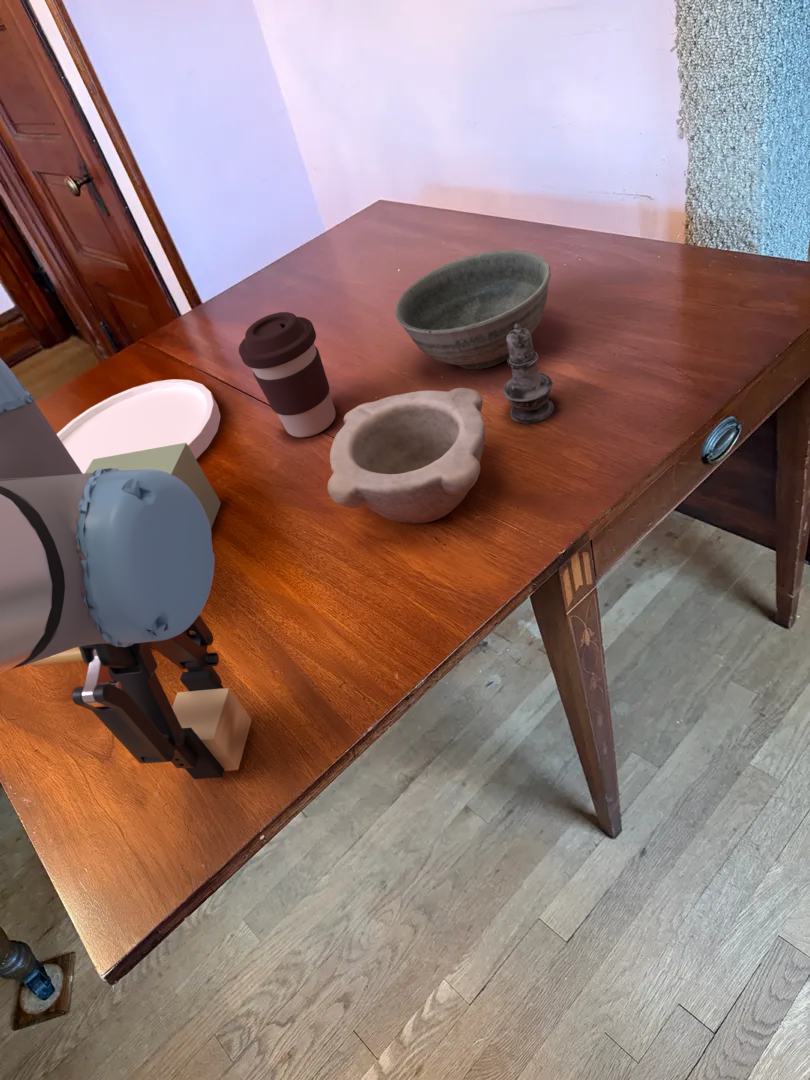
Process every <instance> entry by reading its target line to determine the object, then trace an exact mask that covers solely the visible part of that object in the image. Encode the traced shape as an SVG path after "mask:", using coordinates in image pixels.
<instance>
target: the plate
mask: <svg viewBox="0 0 810 1080" xmlns="http://www.w3.org/2000/svg"><path fill="white" fill-rule="evenodd" d="M215 399H216V398H214V395H213V394H212V391H210V390H209V389H208V388H207V387H206V386H205V385H204V384H203V383H201V382H196V381H194V380H190V379H176V378H174V379H173V378H171V379H165V380H164V379H163V380H156V381H151V382H148V383H143V384H140V385H137V386H134V387H131V388H129V389H126V390H123V391H121V392H119V393H117V394H113V395H111V396H110V397H107V398H105V399H103V400H102V401H99V402H98V403H97V404H95V405H93V406H91V407H89V408H87V409H86V410H85V411H83V412H82V413H81V414H79V415H78V416H76V417H74V418H73V419H71V421H69V422H68V423H67V424H66V425H65V426H64V427H63V428H61V429H60V430H59V431H58V432H57V433H56V434H57V436H58V437H59V439H60V440H61V442H62V443H63V445H64V446H65V448H66V449H67V451H68V452H69V454H70V455H71V457H72V458H73V460H74V461H75V463H76V464H77V466H78V467H79V469H80V470H81V472H82V473H83V474H84V473H85V472H86V470H87V469H88V467H89V465H90V464H91V462H92V460H93V459H98V458H103V457H109V456H114V455H120V454H125V453H131V452H136V451H142V450H148V449H153V448H159V447H164V446H170V445H175V444H181V443H187V445H188V446H189V449H190V450H191V452H192V453H193V455H194V457H195V459H196V460H197V459H199V458H200V456H201V455H202V454H203V453H204V452H205V451H206V450H207V448H208V447H209V446H210V444H211V443H212V441H213V439H214V438H215V436H216V434H217V433H218V431H219V427H220V422H221V412H220V410H219V409H220V408H219V405H218V403H217V401H216V400H215Z"/></svg>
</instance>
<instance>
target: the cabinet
mask: <svg viewBox="0 0 810 1080" xmlns="http://www.w3.org/2000/svg"><path fill="white" fill-rule="evenodd" d="M109 468H114V469H118V470H143V469H154V470H160V471H164V472H167V473H169V474H171V475H173V476H175V477H177V478H179V479H180V480H182V481H183V482H184V483H185V484H186V485H187V486H188V487H189V488H190V489H191V490H192V491H193V492H194V494H195V495H196V496H197V498H198V499H199V501H200V503H201V504H202V506H203V508H204V510H205V513H206V515H207V518H208V521H209V524H210V527H211V529H212V528H213V525H214V523H215V520H216V517H217V515H218V512H219V510H220V507H221V505H222V503H221V500H220V498H219V496H218V495H217V493H216V491H215V490H214V488H213V486H212V485H211V483H210V481H209V479H208V478H207V476H206V474H205V472H204V471H203V469H202V468H201V465H200V463H199V462H198V461H197V459H195V457H194V455H193V453H192V452H191V450H190V449H189V446H188V445H187V443H181V444H175V445H170V446H164V447H159V448H153V449H148V450H142V451H136V452H131V453H125V454H120V455H114V456H109V457H103V458H98V459H93V460H92V462H91V464H90V465H89V467H88V469H87V470H86V472H85V473H93V472H94V471H96V470H99V469H109Z"/></svg>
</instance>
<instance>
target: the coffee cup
mask: <svg viewBox="0 0 810 1080" xmlns="http://www.w3.org/2000/svg"><path fill="white" fill-rule="evenodd" d="M244 335H245V336H244V338H243V339H242V340H241V342H240V343H239V346H238V354H239V356H240V359H241V361H242V362H243V364H244V365H245V366H247V367H248V368H251V370H252V372H253V373H252V374H253V376H254V379H255V381H256V382H257V384H258V386H259V388H260V390H261V391H262V393H263V395H264V396H265V398H266V400H267V402H268V404H269V405H270V407H271V409H272V411H273V412H274V413H275V414H276V415H277V417H278V419H279V420H280V422H281V424H282V426H283V428H284V430H285V432H286V433H287V434H289V435H290V436H292V437H294V438H307V437H308V438H309V437H313V436H315V435H317V434H319V433H322V432H323V431H325V430H326V429H328V428H329V427H330V426H331V425H332V424H333V422H334V421H335V418H336V408H335V405H334V402H333V399H332V396H331V392H330V384H329V380H328V378H327V374H326V370H325V368H324V363H323V361H322V357H321V355H320V351H319V349H318V347H317V346H316V344H315V341H316V339H317V332H316V330H315V327H314V324H313V322H312V321H311V320H309V319H308V318H306V317H304V316H303V317H302V316H297V315H296V314H294V313H291V312H289V311H281V312H275V313H272V314H268V315H265V316H263V317H261V318H260V319H258V320H256V321H255V322H253V323H252V324H250V326H249V327H248V328H247V329H246V331H245V334H244Z"/></svg>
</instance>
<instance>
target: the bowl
mask: <svg viewBox="0 0 810 1080" xmlns="http://www.w3.org/2000/svg"><path fill="white" fill-rule="evenodd" d="M551 276H552V273H551V266H550V265H549V264H548V261H547V260H546V259H545V258H544V257H542V256H541V255H539V254H537V253H534V252H530V251H527V250H520V249H499V250H492V251H491V250H490V251H485V252H480V253H475V254H471V255H467V256H464V257H462V258H458V259H455V260H453V261H450V262H448V263H446V264H443V265H441V266H439V267H436V268H435V269H432V270H431V271H429V272H428V273H426V274H425V275H423V276H421V277H420V278H418V279H417V280H416V281H414V282H413V283H412V284H411V285H409V287H408V288H407V289H406V290H405V291H404V292H403V293H402V294H401V296H400V297H399V299H398V301H397V302H396V305H395V309H394V314H395V320H396V321H397V322H398V324H399V325H400V326H401V327H402V328H403V329H404V331H405V332H406V333H407V335H408V336H409V337H410V339H411V340H412V341H413V343H415V345H416V346H417V348H418V349H419V350H420V351H422V352H423V353H424V354H427V355H428V356H430V357H431V358H432V359H434V360H436V361H439V362H441V363H445V364H449V365H456V366H459V368H463V369H467V370H482V369H486V368H490V367H493V366H496V365H499V364H501V363H503V362H504V361H507V360H508V358H509V357H510V355H509V350H508V345H507V335H508V334H509V332H510V331H512V330H513V329H515V328H514V326H515V324H516V323H517V324H518V325H520V327H519V328H525V329H527V330H529V332H530V333H531V335H532V334H534V332H535V330H536V328H538V325H539V324H540V322H541V320H542V318H543V314H544V311H545V308H546V305H547V301H548V293H549V283H550V280H551Z"/></svg>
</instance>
